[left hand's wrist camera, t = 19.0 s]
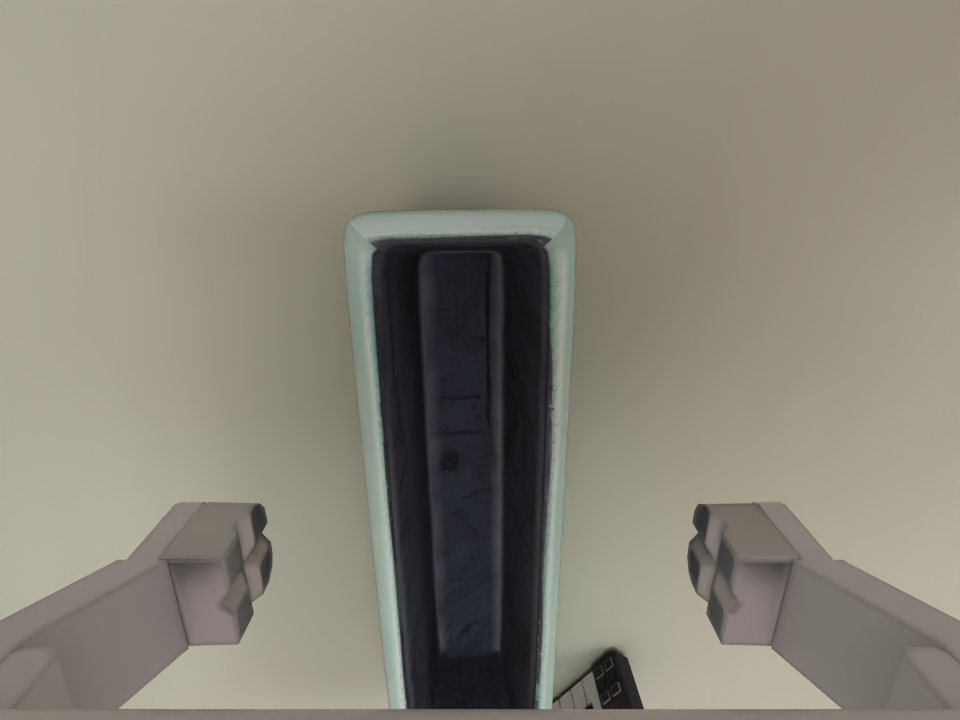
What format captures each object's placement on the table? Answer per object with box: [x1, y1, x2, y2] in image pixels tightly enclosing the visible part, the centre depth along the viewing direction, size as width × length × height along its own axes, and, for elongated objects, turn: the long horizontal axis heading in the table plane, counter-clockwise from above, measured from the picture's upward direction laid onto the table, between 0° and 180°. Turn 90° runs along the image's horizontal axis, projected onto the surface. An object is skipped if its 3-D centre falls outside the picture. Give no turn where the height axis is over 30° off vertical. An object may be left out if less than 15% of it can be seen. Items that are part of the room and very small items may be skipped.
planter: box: [344, 209, 576, 709], centre depth 25 cm, size 28×7×7 cm, turn 1°
